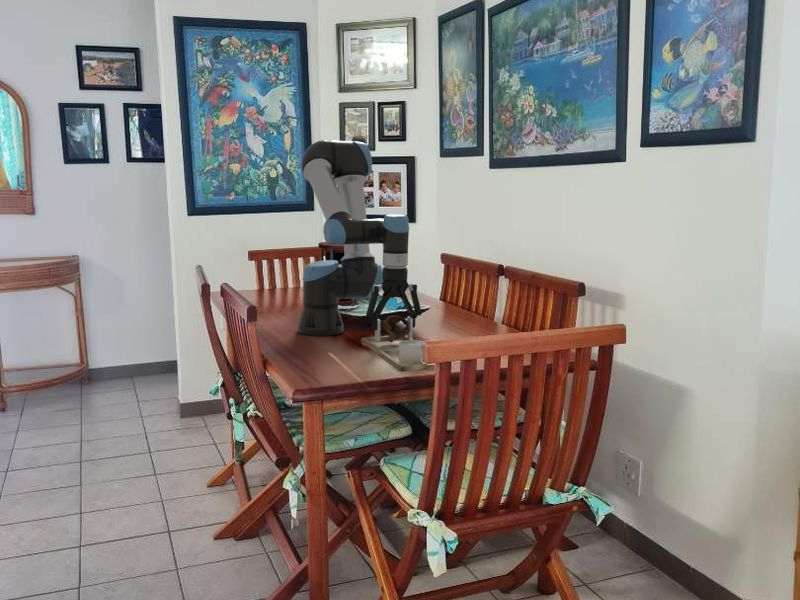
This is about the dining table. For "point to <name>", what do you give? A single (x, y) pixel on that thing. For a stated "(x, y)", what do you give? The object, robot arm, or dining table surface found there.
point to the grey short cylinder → (410, 352)
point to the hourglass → (337, 254)
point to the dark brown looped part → (393, 328)
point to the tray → (392, 352)
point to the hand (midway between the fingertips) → (393, 339)
